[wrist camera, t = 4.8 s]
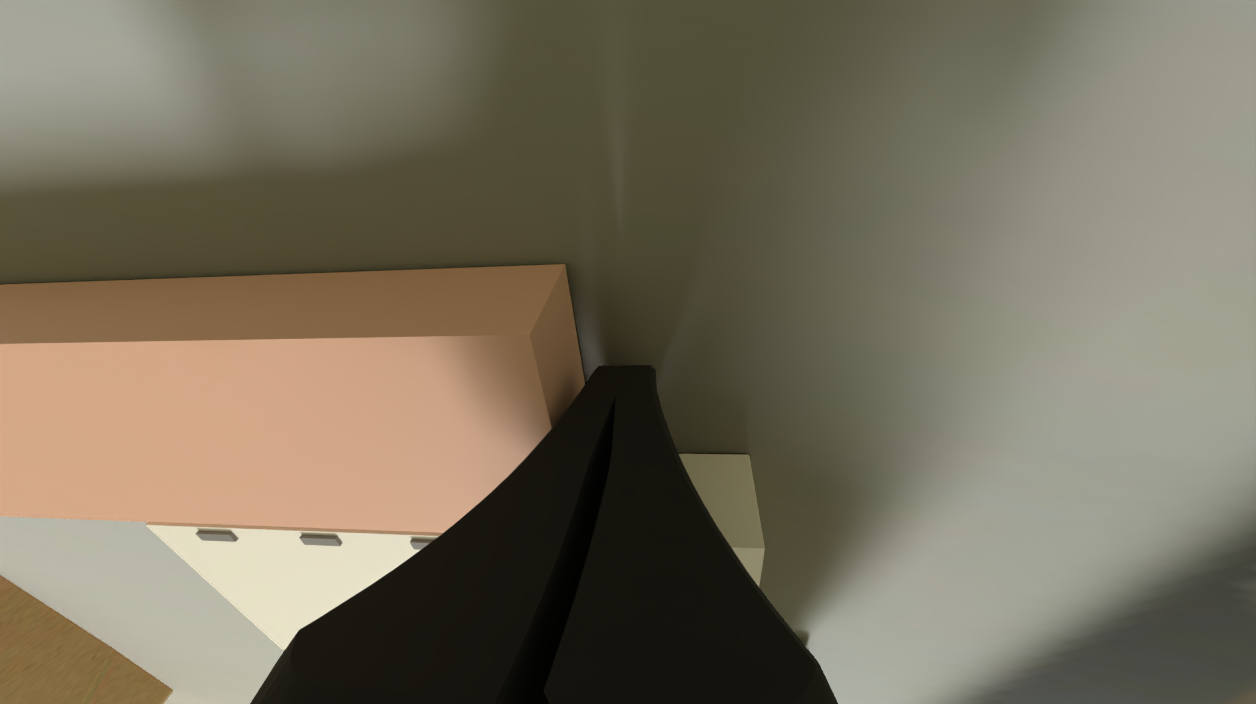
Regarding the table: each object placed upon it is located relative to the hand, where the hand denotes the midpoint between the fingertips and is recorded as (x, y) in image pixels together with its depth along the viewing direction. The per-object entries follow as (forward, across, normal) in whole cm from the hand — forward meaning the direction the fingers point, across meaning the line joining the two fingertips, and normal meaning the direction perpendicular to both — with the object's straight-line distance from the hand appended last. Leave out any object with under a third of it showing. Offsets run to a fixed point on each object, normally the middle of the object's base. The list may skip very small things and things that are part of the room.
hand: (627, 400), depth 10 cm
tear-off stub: (+1, +9, 0) cm, 9 cm away
